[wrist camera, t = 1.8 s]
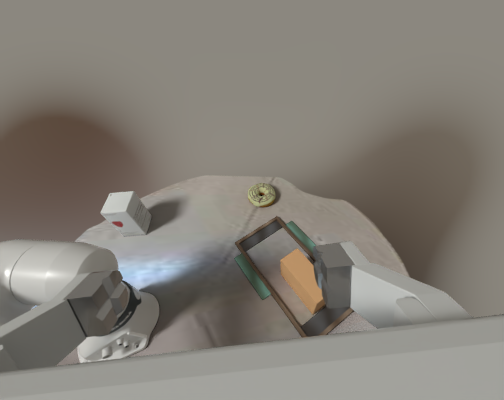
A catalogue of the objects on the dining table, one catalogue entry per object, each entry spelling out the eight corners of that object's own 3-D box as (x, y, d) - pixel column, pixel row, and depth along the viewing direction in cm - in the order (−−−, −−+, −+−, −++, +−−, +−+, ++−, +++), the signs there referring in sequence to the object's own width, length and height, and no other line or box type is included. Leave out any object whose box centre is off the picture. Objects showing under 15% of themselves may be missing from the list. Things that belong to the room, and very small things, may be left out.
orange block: (312, 314, 64) (316, 303, 56) (280, 274, 72) (280, 259, 64) (328, 301, 66) (334, 289, 58) (296, 263, 74) (297, 248, 66)
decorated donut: (257, 213, 88) (256, 207, 85) (243, 195, 94) (242, 189, 91) (280, 201, 90) (280, 194, 87) (266, 184, 97) (265, 178, 94)
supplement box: (123, 237, 87) (98, 213, 75) (130, 217, 93) (108, 192, 81) (146, 235, 86) (125, 211, 75) (152, 215, 92) (134, 190, 81)
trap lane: (301, 356, 58) (301, 356, 58) (227, 248, 79) (227, 247, 79) (367, 298, 65) (368, 297, 65) (283, 213, 86) (283, 211, 86)
